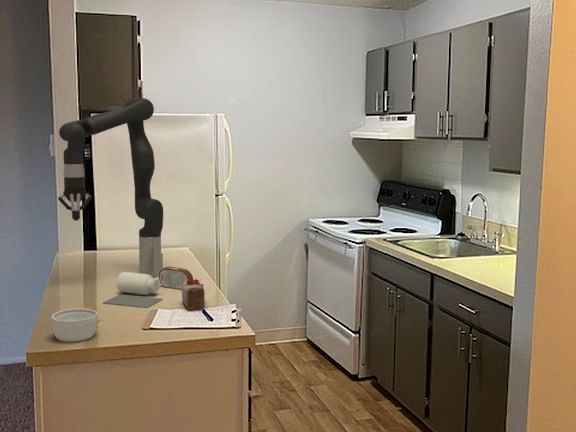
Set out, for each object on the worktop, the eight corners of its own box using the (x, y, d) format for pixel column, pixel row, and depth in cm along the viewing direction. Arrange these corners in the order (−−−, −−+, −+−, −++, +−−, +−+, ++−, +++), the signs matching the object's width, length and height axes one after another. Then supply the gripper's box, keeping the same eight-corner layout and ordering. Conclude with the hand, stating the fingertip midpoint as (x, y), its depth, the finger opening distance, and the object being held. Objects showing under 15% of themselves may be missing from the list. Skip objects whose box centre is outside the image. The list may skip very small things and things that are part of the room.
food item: (179, 301, 233) (179, 275, 232) (201, 300, 236) (201, 274, 234) (185, 312, 220) (185, 284, 219) (208, 310, 223) (208, 283, 221)
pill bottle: (122, 295, 245) (156, 299, 241) (113, 286, 239) (148, 290, 234) (130, 277, 249) (163, 281, 245) (121, 267, 243) (155, 271, 238)
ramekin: (71, 346, 184) (71, 323, 183) (42, 338, 190) (41, 315, 190) (107, 334, 195) (106, 312, 194) (78, 327, 202) (77, 305, 201)
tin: (193, 289, 250) (193, 269, 249) (189, 291, 247) (189, 270, 246) (162, 285, 256) (162, 265, 255) (157, 287, 254) (157, 266, 252)
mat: (102, 303, 228) (102, 302, 228) (119, 295, 240) (119, 294, 240) (147, 308, 224) (147, 307, 224) (162, 299, 235) (162, 298, 235)
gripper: (91, 174, 249) (93, 218, 251) (55, 175, 244) (57, 219, 247) (92, 176, 242) (94, 220, 244) (55, 177, 237) (58, 222, 240)
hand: (76, 220), depth 245 cm, fingers closed
